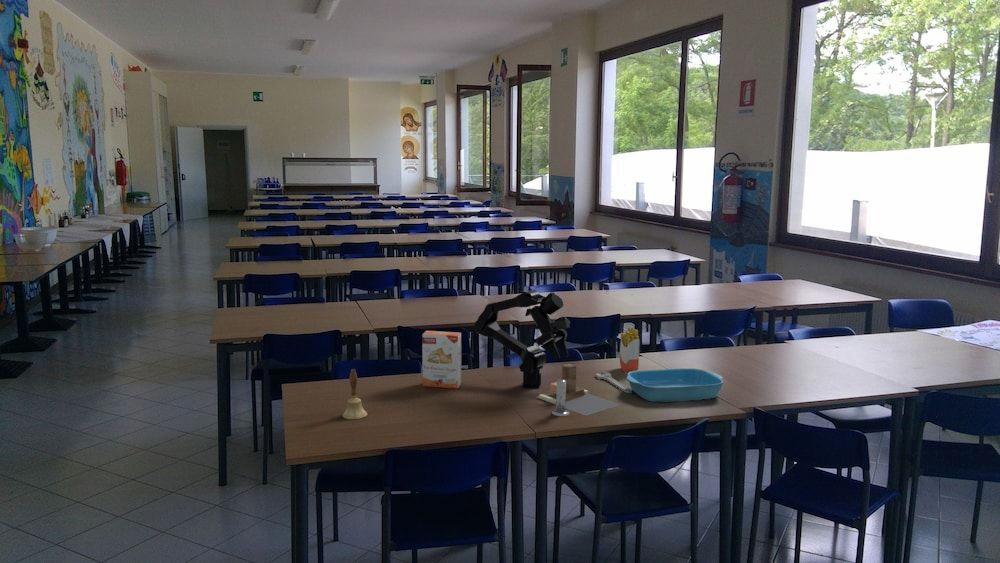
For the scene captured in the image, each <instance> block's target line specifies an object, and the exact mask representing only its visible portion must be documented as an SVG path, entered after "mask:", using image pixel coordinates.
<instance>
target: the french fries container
mask: <svg viewBox="0 0 1000 563" xmlns="http://www.w3.org/2000/svg"><path fill="white" fill-rule="evenodd" d="M640 340H641V339H640V336H639V330H638V329H635V328H634V326H627V330H625V331H624V332H620V348H619V365H620V369H621V370H622V371H623V372H624V373H625V372H626V374H628V373H629V372H631V371H639V370H638V369H639V362H640Z"/></svg>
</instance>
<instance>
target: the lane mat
mask: <svg viewBox="0 0 1000 563" xmlns="http://www.w3.org/2000/svg"><path fill="white" fill-rule="evenodd" d="M535 398H537V399H539V400H541V401H543V402H544V401H545V402H547V403H549V404H553V405H555V406H556V399H554V398H553V395H551V394H550V392H549V393H546V394H543V393H541V394H539V395H538V396H535ZM621 405H622V404H621V403H618V402H615V401H612V400H608V399H606V398H603V397H599V396H598V395H597V396H596V395H593V394H591V393H589V390H587V389H584V396H581V397H578V398H574V399H571V400H568V401H566V410H568V411H571V412H574V413H577V414H579V415H583V416H585V417H586V416H589V415H592V414H596V413H597V414H598V413H599V412H603V411H607V410H609V409H613V408H615V407H618V406H621Z"/></svg>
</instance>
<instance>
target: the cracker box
mask: <svg viewBox="0 0 1000 563" xmlns="http://www.w3.org/2000/svg"><path fill="white" fill-rule="evenodd" d="M421 336H422V341H421V342H422V343H421V344H422V346H421V348H422V349H421V350H422V360H421V361H422V362H421V365H422V366H421V367H422V387H425V388H427V387H429V388H442V389H453V388H454V389H456V390H458V389H459V388H460V386H461V385H462V332H453V331H440V330H439V331H437V330H425V331H424V332H423V333H422V335H421Z"/></svg>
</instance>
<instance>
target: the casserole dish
mask: <svg viewBox="0 0 1000 563" xmlns="http://www.w3.org/2000/svg"><path fill="white" fill-rule="evenodd" d="M626 374H627V376H626V380H627V382H629V386H630V389H631V390H632V392H634V393H635V394H636V395H637V396H640V397H641V399H644V400H645V401H648V402H654V403H669V402H670V403H671V402H675V403H676V402H691V401H690V400H694V401H703V400H702V399H706V400H711V398H712V399H714V398H715V397H717V396H718V394H719V393H720V391H721V389H722V387H723V384H724V380H723V376H722V375H720V374H718V373H715V372H713V371H708V370H705V369H701V368H693V367H692V368H691V367H690V368H689V367H685V368H663V369H662V368H661V369H643V370H637V371H631V372H629V373H626Z"/></svg>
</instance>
